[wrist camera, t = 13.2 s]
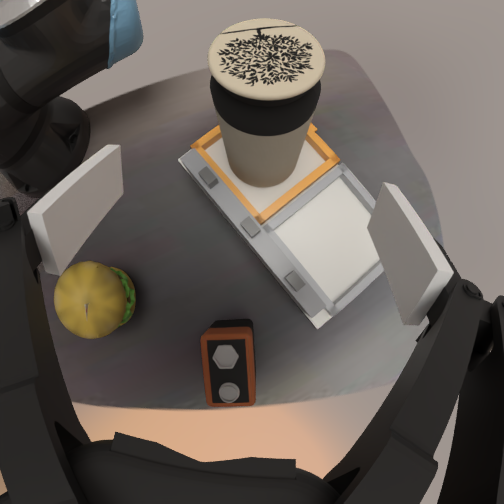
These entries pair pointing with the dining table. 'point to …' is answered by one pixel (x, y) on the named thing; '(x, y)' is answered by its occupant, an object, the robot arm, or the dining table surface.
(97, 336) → the hamburger
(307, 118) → the travel mug
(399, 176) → the dining table surface
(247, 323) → the battery
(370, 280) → the grey orange flat box
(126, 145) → the dining table surface
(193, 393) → the dining table surface
